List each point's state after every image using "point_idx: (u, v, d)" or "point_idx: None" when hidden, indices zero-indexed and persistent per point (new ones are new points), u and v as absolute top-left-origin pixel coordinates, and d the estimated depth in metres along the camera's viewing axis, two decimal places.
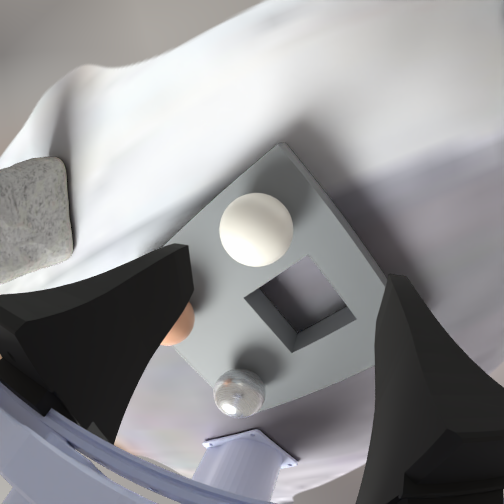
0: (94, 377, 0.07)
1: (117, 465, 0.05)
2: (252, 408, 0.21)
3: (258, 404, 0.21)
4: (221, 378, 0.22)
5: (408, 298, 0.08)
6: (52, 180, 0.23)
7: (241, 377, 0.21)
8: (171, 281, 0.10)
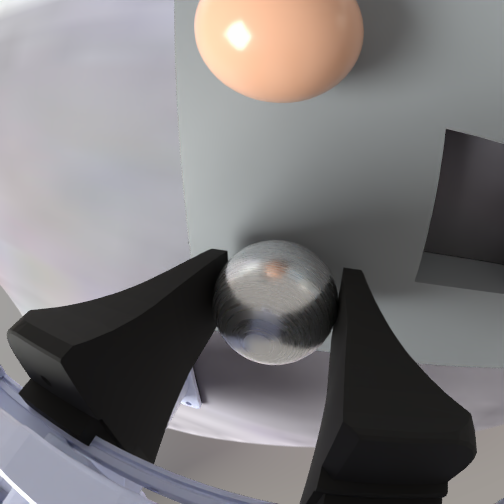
0: (139, 397, 0.07)
1: (117, 465, 0.05)
2: (302, 357, 0.09)
3: (313, 351, 0.09)
4: (276, 250, 0.09)
5: (355, 291, 0.08)
6: None
7: (326, 277, 0.09)
8: (212, 289, 0.10)
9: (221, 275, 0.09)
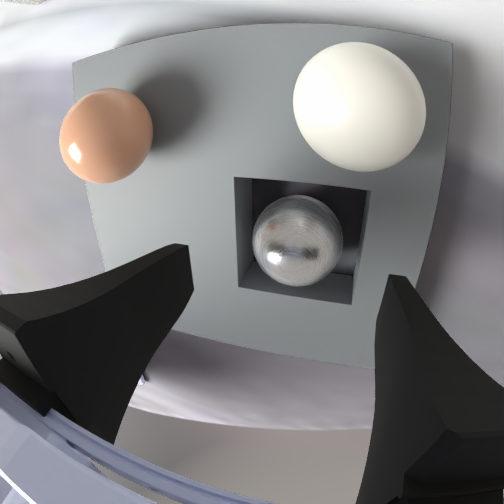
0: (94, 377, 0.07)
1: (117, 465, 0.05)
2: (318, 278, 0.13)
3: (325, 276, 0.13)
4: (304, 199, 0.13)
5: (408, 298, 0.08)
6: None
7: (336, 220, 0.13)
8: (171, 281, 0.10)
9: (263, 215, 0.13)
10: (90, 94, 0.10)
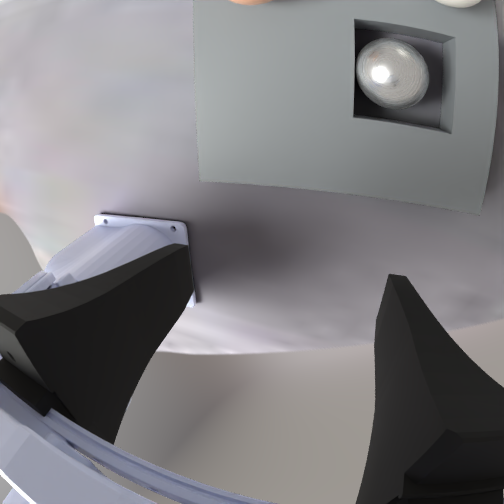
0: (94, 377, 0.07)
1: (117, 465, 0.05)
2: (410, 90, 0.12)
3: (416, 95, 0.12)
4: None
5: (408, 298, 0.08)
6: None
7: None
8: (171, 281, 0.10)
9: None
10: None
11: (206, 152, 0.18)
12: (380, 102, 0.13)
